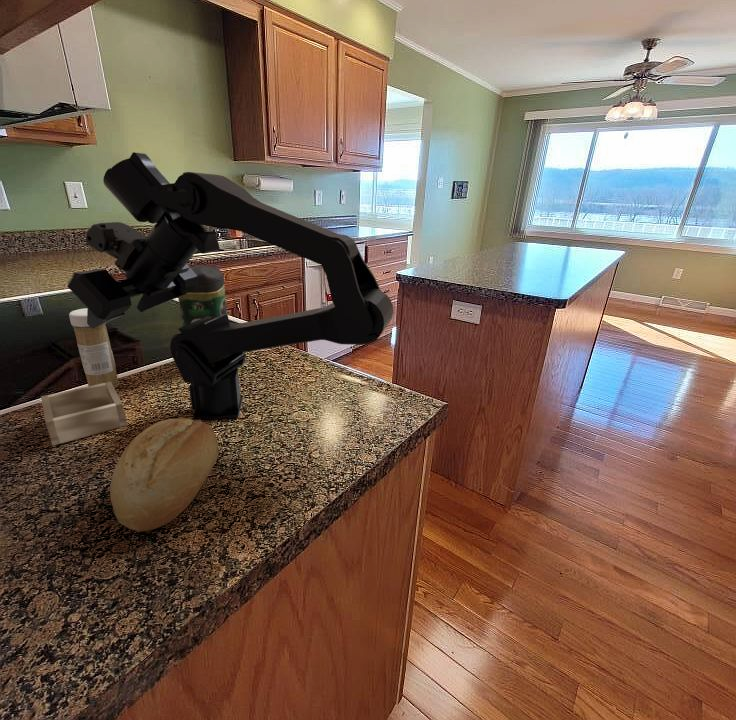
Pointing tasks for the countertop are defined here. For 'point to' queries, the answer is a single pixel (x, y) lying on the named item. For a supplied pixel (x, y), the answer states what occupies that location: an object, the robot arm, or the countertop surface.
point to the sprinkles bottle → (94, 350)
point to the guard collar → (82, 412)
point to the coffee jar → (204, 296)
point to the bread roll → (162, 472)
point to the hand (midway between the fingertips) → (116, 317)
